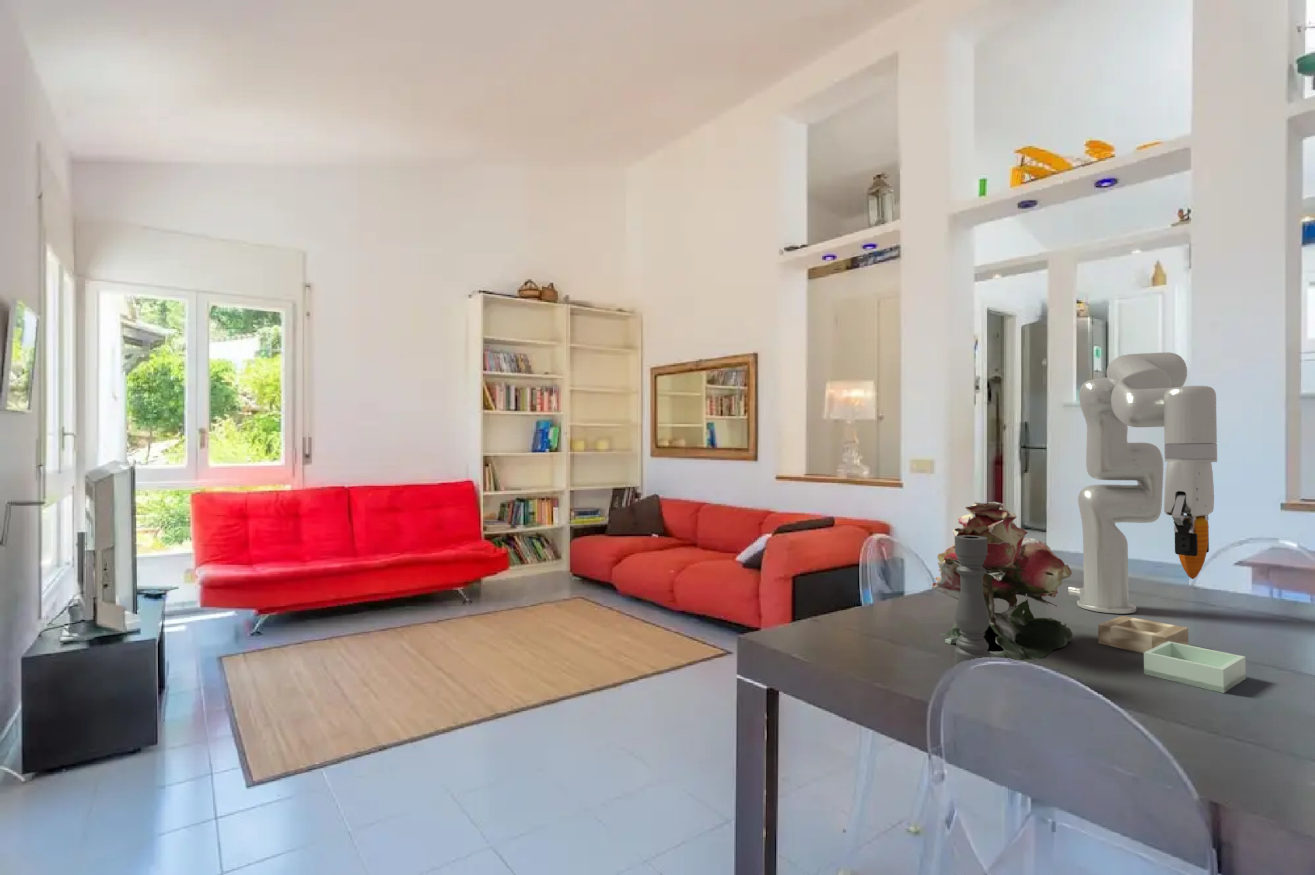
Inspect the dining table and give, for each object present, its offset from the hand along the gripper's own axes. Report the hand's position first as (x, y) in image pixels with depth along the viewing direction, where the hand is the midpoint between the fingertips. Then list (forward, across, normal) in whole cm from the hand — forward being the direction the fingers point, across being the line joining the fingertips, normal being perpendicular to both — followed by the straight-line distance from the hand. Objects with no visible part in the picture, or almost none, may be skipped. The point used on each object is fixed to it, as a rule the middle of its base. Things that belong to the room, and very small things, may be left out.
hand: (1191, 552), depth 122 cm
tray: (+23, 0, 0) cm, 23 cm away
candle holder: (+23, +28, -26) cm, 44 cm away
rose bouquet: (+23, +6, -34) cm, 42 cm away
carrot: (+5, 0, 0) cm, 5 cm away
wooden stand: (+23, -14, -13) cm, 30 cm away
